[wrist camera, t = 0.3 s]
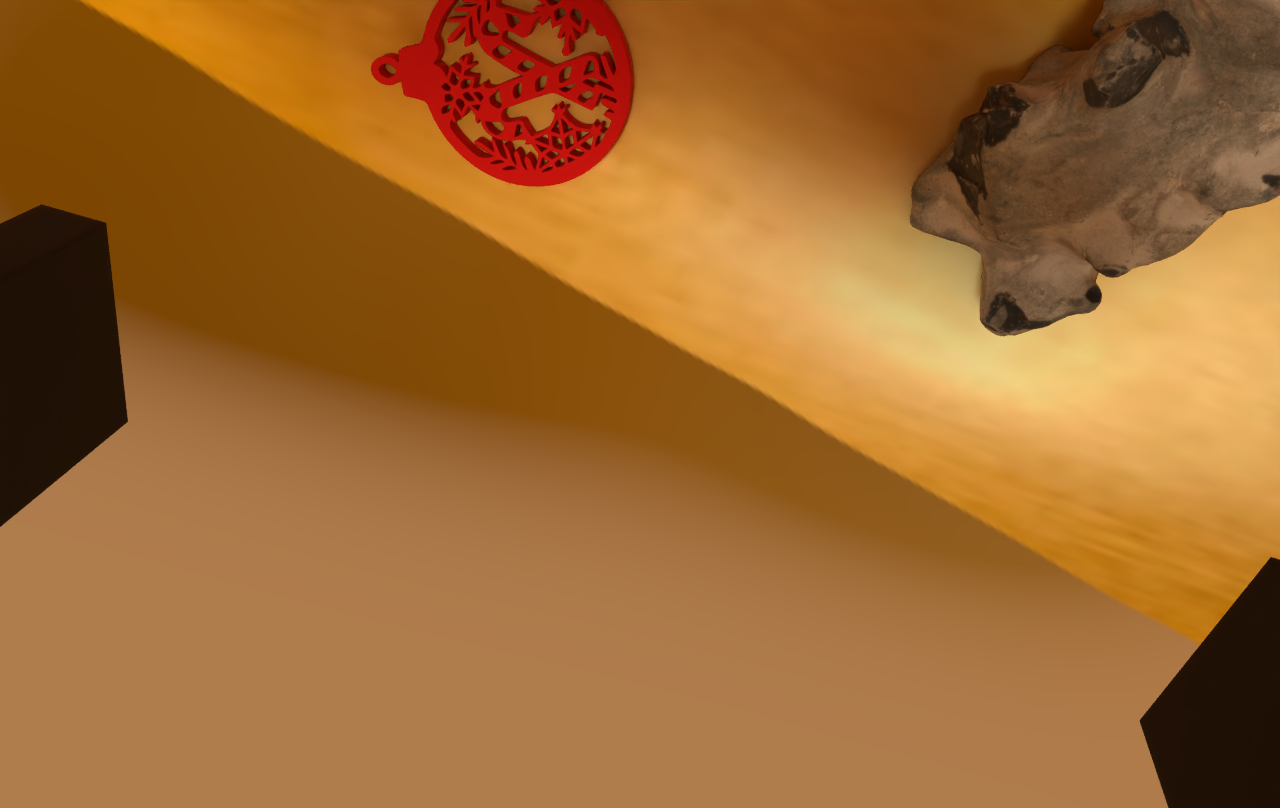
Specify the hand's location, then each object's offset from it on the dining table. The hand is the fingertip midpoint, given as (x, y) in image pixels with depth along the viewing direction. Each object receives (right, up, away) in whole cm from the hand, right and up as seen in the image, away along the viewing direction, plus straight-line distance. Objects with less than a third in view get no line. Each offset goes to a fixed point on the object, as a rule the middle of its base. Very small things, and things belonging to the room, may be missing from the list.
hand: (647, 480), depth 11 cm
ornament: (0, +13, +23) cm, 27 cm away
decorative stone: (+16, +11, +21) cm, 29 cm away
